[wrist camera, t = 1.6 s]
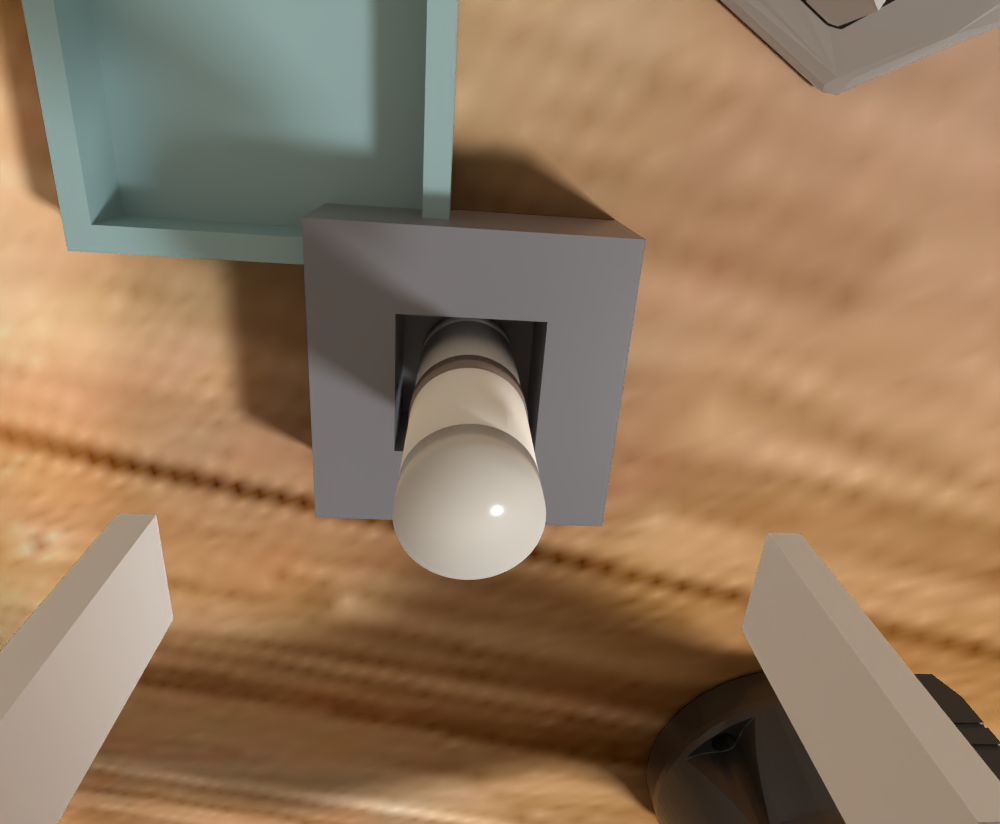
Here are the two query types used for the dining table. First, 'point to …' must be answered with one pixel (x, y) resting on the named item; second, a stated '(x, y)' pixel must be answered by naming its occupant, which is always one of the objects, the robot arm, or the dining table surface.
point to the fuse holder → (468, 294)
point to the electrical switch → (862, 33)
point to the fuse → (468, 457)
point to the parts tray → (240, 118)
